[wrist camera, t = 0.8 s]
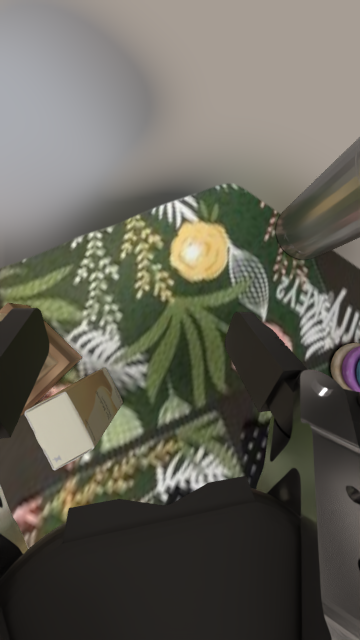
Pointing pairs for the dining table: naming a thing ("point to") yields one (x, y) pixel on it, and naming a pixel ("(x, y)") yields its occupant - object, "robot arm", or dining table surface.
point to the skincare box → (75, 417)
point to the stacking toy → (347, 367)
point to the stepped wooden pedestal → (48, 361)
